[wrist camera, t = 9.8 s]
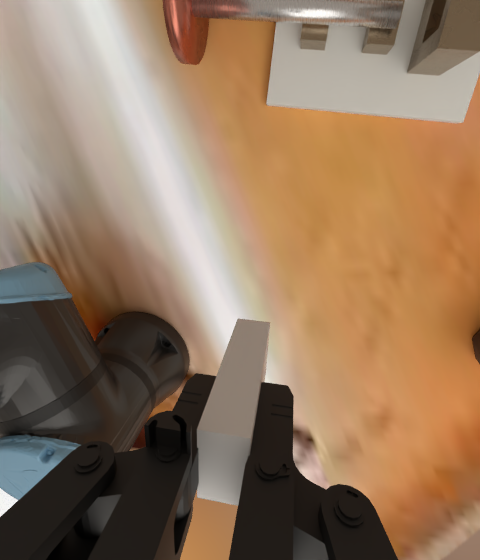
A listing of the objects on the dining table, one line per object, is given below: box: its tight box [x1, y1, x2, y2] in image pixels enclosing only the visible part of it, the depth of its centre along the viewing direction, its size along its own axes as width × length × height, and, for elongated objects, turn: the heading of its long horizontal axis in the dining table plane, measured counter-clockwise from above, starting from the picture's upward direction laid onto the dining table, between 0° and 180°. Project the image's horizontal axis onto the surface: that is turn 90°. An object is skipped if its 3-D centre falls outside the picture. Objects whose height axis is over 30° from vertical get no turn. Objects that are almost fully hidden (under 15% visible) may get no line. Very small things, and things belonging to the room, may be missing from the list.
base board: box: [267, 0, 480, 124], centre depth 31 cm, size 20×14×1 cm
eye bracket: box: [300, 0, 480, 76], centre depth 27 cm, size 14×6×8 cm, turn 84°
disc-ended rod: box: [163, 0, 403, 65], centre depth 28 cm, size 20×9×9 cm, turn 84°
